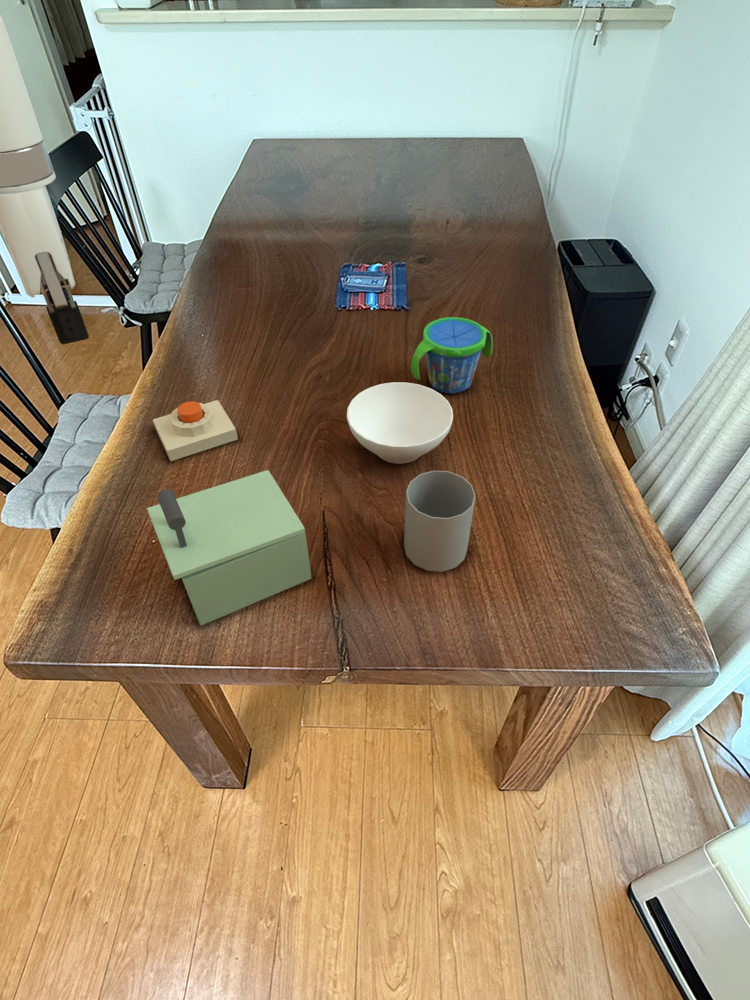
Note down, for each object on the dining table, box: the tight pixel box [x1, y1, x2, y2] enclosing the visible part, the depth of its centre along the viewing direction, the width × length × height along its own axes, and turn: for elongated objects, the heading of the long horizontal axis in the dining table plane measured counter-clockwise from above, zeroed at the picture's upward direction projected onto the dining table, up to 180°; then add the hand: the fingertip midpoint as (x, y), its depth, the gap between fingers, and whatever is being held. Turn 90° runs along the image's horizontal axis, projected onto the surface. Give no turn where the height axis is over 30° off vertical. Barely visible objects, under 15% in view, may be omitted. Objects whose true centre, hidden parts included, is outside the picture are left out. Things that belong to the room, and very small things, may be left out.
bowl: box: [346, 381, 454, 465], centre depth 92 cm, size 16×16×7 cm
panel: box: [152, 399, 239, 462], centre depth 96 cm, size 11×9×4 cm
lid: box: [146, 469, 306, 581], centre depth 69 cm, size 15×12×6 cm
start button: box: [177, 400, 203, 423], centre depth 94 cm, size 4×4×2 cm
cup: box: [403, 470, 477, 573], centre depth 76 cm, size 8×8×10 cm
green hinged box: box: [180, 532, 312, 627], centre depth 74 cm, size 15×12×9 cm
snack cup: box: [410, 316, 494, 395], centre depth 103 cm, size 16×10×10 cm
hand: (74, 338), depth 70 cm, fingers closed
